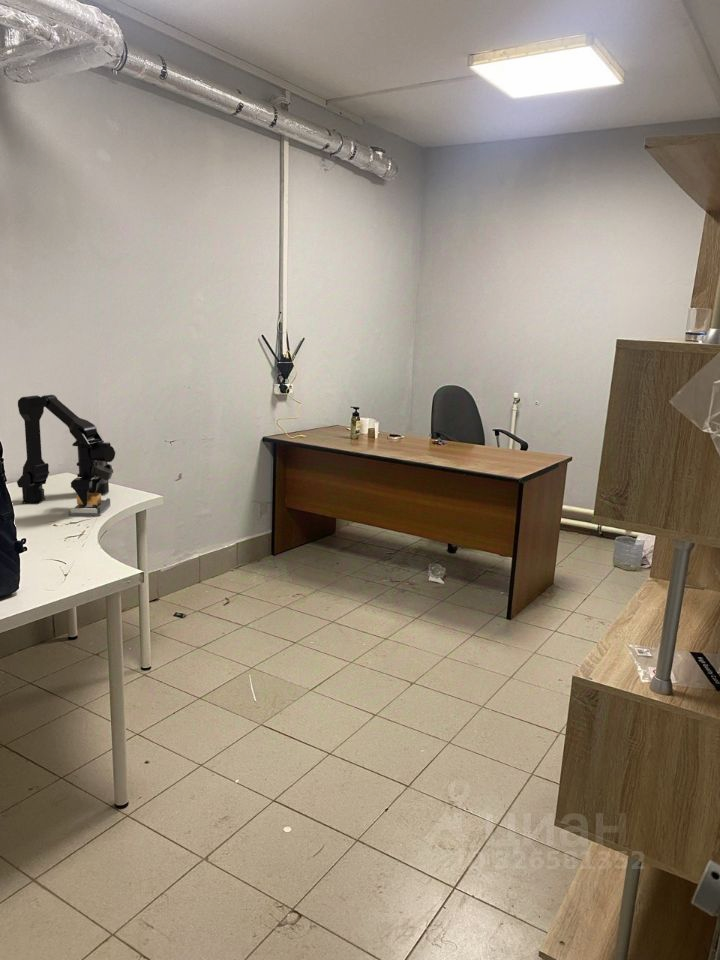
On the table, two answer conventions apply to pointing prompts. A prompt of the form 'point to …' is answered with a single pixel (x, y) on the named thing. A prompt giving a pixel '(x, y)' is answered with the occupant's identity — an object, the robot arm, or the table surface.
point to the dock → (90, 509)
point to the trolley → (90, 500)
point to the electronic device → (102, 482)
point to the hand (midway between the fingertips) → (89, 501)
